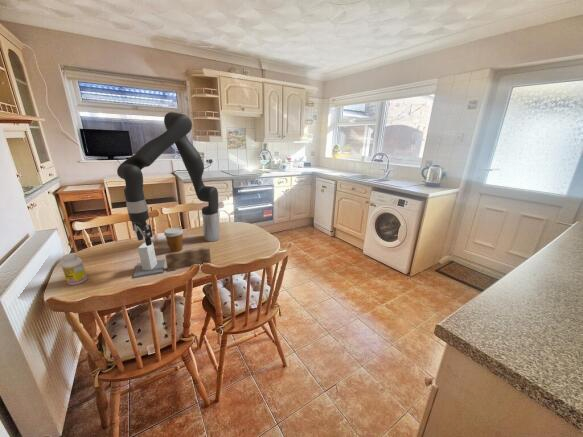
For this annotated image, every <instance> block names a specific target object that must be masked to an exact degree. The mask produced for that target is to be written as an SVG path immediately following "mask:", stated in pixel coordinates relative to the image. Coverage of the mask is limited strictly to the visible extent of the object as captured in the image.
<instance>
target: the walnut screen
mask: <svg viewBox="0 0 583 437" xmlns="http://www.w3.org/2000/svg"><path fill="white" fill-rule="evenodd" d="M210 251H211V250H210V247H209V246H207V247H201V248H195V249H188V250H187V249H186V250H181V251H179V252H167V253H165V262H166V267H167V270H168V272H174V271H176V269H182V268H187V267H192V266H191V265H193V264H200V265H203V264H202V263H210V264H211V263H212V260H211V252H210Z"/></svg>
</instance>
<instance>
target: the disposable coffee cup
mask: <svg viewBox="0 0 583 437" xmlns="http://www.w3.org/2000/svg"><path fill="white" fill-rule="evenodd" d="M183 233H184V230H183V229H182V227H178V226H177V227H169V228H167V229H165V230H164V232H163V235H164V236H165V238H166V242H167V244H168V247H169V251H170V253H173V252H179V251H183Z"/></svg>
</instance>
